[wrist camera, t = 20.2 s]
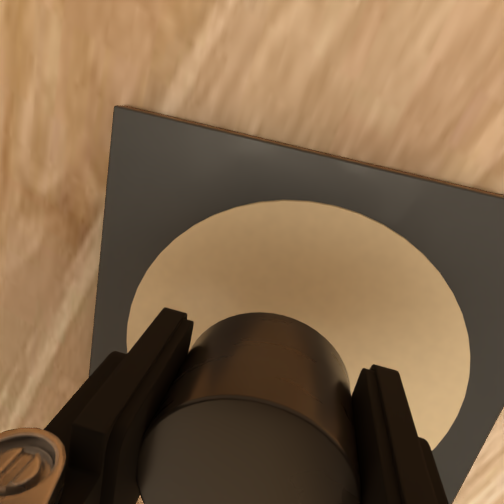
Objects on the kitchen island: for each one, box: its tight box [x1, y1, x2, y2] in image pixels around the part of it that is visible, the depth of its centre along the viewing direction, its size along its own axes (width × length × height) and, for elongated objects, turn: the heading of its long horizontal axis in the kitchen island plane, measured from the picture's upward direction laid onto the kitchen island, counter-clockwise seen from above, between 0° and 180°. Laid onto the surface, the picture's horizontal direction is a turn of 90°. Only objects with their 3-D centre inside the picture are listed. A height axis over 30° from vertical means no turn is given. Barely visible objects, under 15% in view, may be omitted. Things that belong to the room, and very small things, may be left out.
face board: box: [89, 105, 504, 504], centre depth 16 cm, size 16×16×1 cm
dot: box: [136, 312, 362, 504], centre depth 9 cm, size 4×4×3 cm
